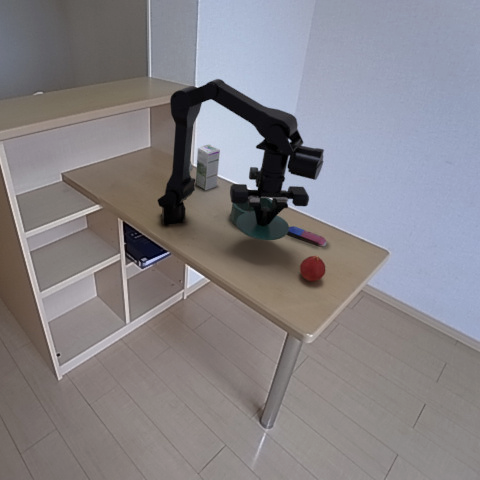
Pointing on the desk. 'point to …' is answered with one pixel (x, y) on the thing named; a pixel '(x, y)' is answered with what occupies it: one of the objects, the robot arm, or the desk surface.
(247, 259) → the desk surface
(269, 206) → the pot
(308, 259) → the onion
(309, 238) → the eraser
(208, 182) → the syrup box
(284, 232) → the lid
